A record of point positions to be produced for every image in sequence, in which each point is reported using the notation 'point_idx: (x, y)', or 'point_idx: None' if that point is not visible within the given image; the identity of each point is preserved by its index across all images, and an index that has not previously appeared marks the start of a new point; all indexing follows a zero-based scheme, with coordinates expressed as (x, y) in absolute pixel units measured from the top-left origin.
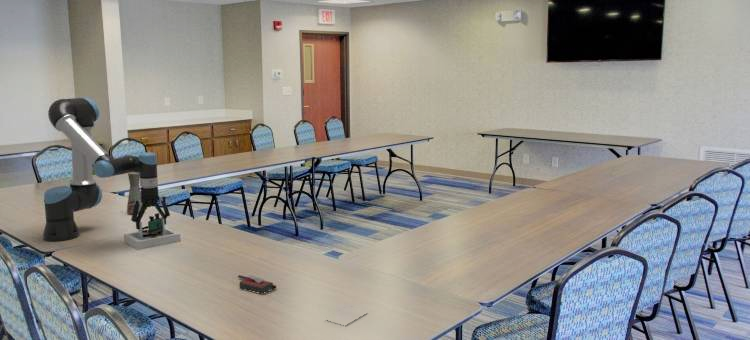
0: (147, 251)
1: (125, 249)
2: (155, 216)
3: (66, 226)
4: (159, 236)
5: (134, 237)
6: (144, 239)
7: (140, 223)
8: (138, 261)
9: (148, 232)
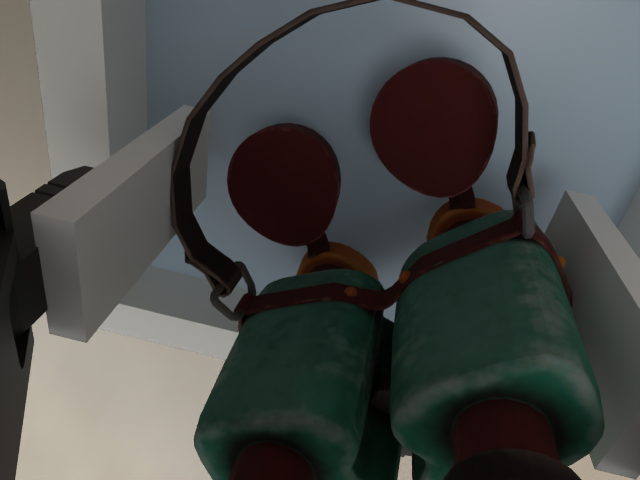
0: (163, 366)
1: (20, 170)
2: (460, 472)
3: None
4: (538, 128)
5: (102, 141)
6: (305, 83)
7: (66, 324)
8: (33, 456)
9: (252, 292)
